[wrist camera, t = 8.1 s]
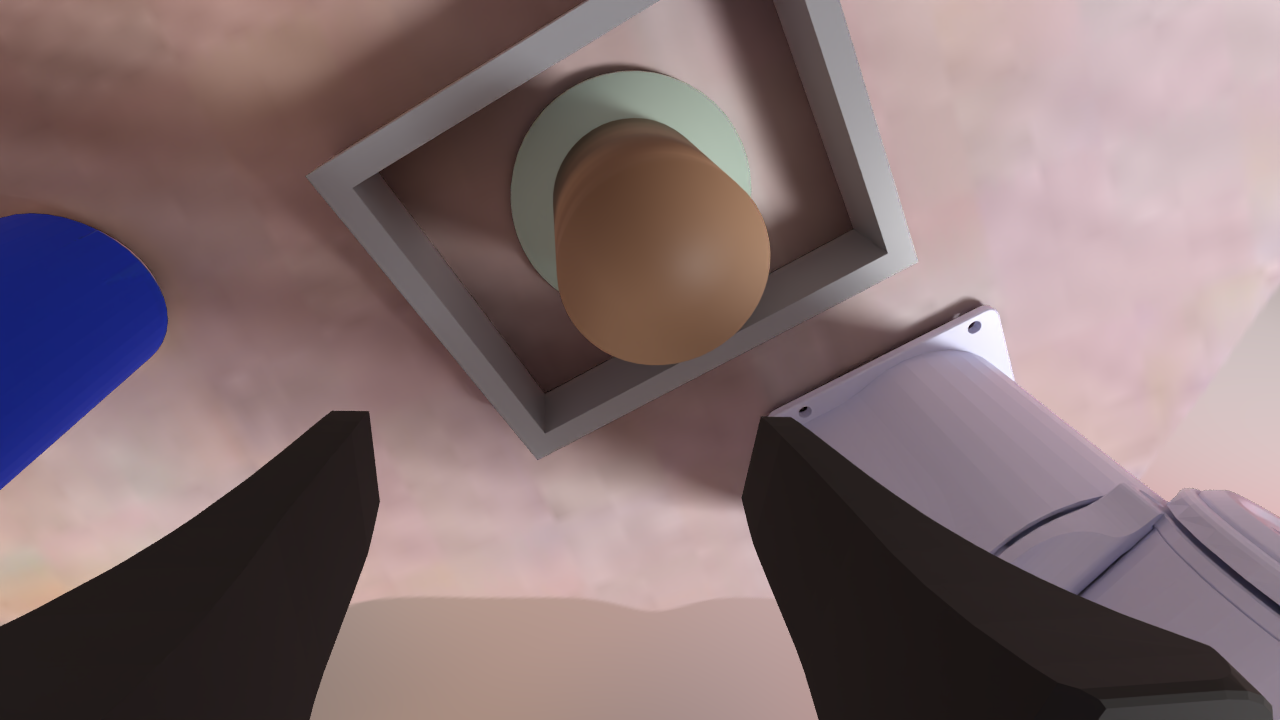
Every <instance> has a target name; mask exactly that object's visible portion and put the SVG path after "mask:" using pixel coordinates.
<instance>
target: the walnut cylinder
mask: <svg viewBox="0 0 1280 720" xmlns="http://www.w3.org/2000/svg"><path fill="white" fill-rule="evenodd" d="M553 214H554V233H555V252H556V271H557V281H558V289H559V293H560V296H561V300H562V303H563V305H564V307H565V310H566V312H567V314H568V316H569V317H570V319H571V321H572V322H573V324H574V325H575V326H576V328H577V329H578V330H579V331H580V333H581V334H582V335H583V336H584V337H585V338H586V339H588V340H589V341H590V342H591V343H592V344H593V345H595V346H596V347H598V348H599V349H600V350H602V351H604V352H606V353H608V354H610V355H611V356H614V357H616V358H619V359H622V360H624V361H628V362H632V363H636V364H645V365H668V364H676V363H680V362H684V361H688V360H691V359H694V358H697V357H700V356H702V355H704V354H706V353H708V352H710V351H712V350H714V349H715V348H717V347H719V346H720V345H722V344H723V343H725V342H726V341H727V340H728V339H730V338H731V337H732V336H733V335H734V334H735V333H736V332H737V331H738V330H739V329H740V328H741V327H742V326H743V325H744V324H745V323H746V321H747V320H748V319H749V318H750V316H751V315H752V313H753V312H754V310H755V308H756V307H757V305H758V303H759V301H760V299H761V297H762V295H763V292H764V289H765V286H766V283H767V280H768V274H769V269H770V242H769V237H768V232H767V228H766V225H765V223H764V220H763V217H762V215H761V213H760V211H759V210H758V208H757V206H756V204H755V203H754V201H753V200H752V199H751V197H750V196H749V195H748V194H747V192H746V191H745V190H743V189H742V188H741V187H740V186H739V185H738V184H737V183H736V182H735V181H734V180H733V179H732V178H731V177H729V176H728V175H727V174H726V173H725V172H724V171H723V170H722V169H720V168H719V167H718V166H717V165H716V164H715V163H714V162H713V161H711V160H710V159H709V158H708V157H707V156H706V155H705V154H704V153H702V152H701V151H700V150H699V149H698V148H697V147H696V146H695V145H693V144H692V143H691V142H690V141H689V140H688V139H687V138H686V137H684V136H683V135H682V134H680V133H679V132H678V131H676V130H675V129H673V128H671V127H669V126H667V125H665V124H663V123H660V122H657V121H654V120H649V119H642V118H627V119H620V120H615V121H611V122H608V123H606V124H603V125H601V126H599V127H597V128H595V129H593V130H591V131H590V132H589V133H587V134H586V135H584V136H583V137H582V138H581V139H580V140H579V141H578V142H577V143H576V144H575V145H574V146H573V147H572V148H571V150H570V151H569V152H568V153H567V155H566V157H565V158H564V160H563V162H562V164H561V166H560V168H559V171H558V173H557V176H556V180H555V184H554V191H553Z"/></svg>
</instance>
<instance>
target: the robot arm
mask: <svg viewBox="0 0 1280 720" xmlns="http://www.w3.org/2000/svg"><path fill="white" fill-rule="evenodd" d="M972 322H975V323H974V325H973V326H972V327H971V328H969V329H968V327H969V325H970V324H971V323H972ZM806 406H807V409H806V410H805V411H803V412H799V411H800V409H801V408H803V407H806ZM742 502H743V506H744V510H745V514H746V518H747V522H748V526H749V530H750V534H751V537H752V541H753V544H754V547H755V550H756V552H757V555H758V557H759V560H760V562H761V565H762V567H763V570H764V572H765V575H766V577H767V580H768V582H769V584H770V587H771V589H772V592H773V594H774V597H775V599H776V601H777V604H778V606H779V609H780V611H781V613H782V616H783V618H784V620H785V623H786V626H787V628H788V630H789V633H790V635H791V638H792V640H793V642H794V645H795V647H796V650H797V653H798V655H799V658H800V661H801V664H802V666H803V669H804V672H805V675H806V679H807V682H808V685H809V688H810V692H811V696H812V699H813V702H814V706H815V709H816V712H817V715H818V719H819V720H1280V517H1278V516H1277V515H1275V514H1273V513H1271V512H1270V511H1268V510H1266V509H1265V508H1263V507H1261V506H1259V505H1258V504H1255V503H1254V502H1252V501H1250V500H1248V499H1246V498H1244V497H1242V496H1240V495H1238V494H1236V493H1234V492H1231V491H1227V490H1204V491H1200V490H1197V489H1194V488H1184V489H1182V490H1180V491H1179V493H1178V494H1177V495H1176V496H1175V497H1174V498H1173V499H1172V500H1171V501H1170V502H1168V501H1165V500H1164V499H1163V498H1162V497H1160V496H1159V495H1158V494H1156V493H1155V492H1154V491H1153V490H1151V489H1150V488H1149V487H1148V486H1146V485H1145V484H1144V483H1142V482H1141V481H1140V480H1139V479H1137V478H1136V477H1135V476H1134V475H1132V474H1131V473H1130V472H1129V471H1127V470H1126V469H1125V468H1124V467H1122V466H1121V465H1120V464H1118V463H1117V462H1116V461H1115V460H1113V459H1112V458H1111V457H1110V456H1108V455H1107V454H1106V453H1104V452H1103V451H1102V450H1101V449H1099V448H1098V447H1097V446H1096V445H1094V444H1093V443H1092V442H1091V441H1089V440H1088V439H1087V438H1085V437H1084V436H1083V435H1082V434H1080V433H1079V432H1078V431H1077V430H1075V429H1074V428H1073V427H1071V426H1070V425H1069V424H1068V423H1066V422H1065V421H1064V420H1063V419H1061V418H1060V417H1059V416H1058V415H1056V414H1055V413H1054V412H1052V411H1051V410H1050V409H1049V408H1047V407H1046V406H1045V405H1044V404H1042V403H1041V402H1040V401H1038V400H1037V399H1036V398H1035V397H1033V396H1032V395H1031V394H1030V393H1028V392H1027V391H1026V390H1024V389H1023V388H1022V387H1021V386H1019V385H1018V384H1017V383H1016V382H1015V379H1014V375H1013V371H1012V367H1011V363H1010V358H1009V354H1008V350H1007V346H1006V341H1005V337H1004V333H1003V329H1002V324H1001V320H1000V316H999V313H998V311H997V310H995V309H994V308H992V307H991V306H989V305H983V306H980V307H978V308H976V309H974V310H972V311H970V312H968V313H966V314H964V315H962V316H960V317H958V318H956V319H954V320H952V321H950V322H948V323H946V324H944V325H942V326H940V327H938V328H936V329H934V330H932V331H930V332H928V333H926V334H924V335H922V336H920V337H918V338H916V339H914V340H912V341H910V342H908V343H906V344H904V345H902V346H900V347H898V348H896V349H894V350H892V351H890V352H888V353H886V354H884V355H882V356H880V357H878V358H877V359H875V360H873V361H871V362H869V363H867V364H865V365H863V366H861V367H859V368H857V369H855V370H853V371H851V372H849V373H847V374H845V375H843V376H841V377H839V378H837V379H835V380H833V381H831V382H829V383H827V384H825V385H823V386H821V387H819V388H817V389H815V390H813V391H811V392H809V393H807V394H805V395H803V396H801V397H799V398H797V399H795V400H793V401H791V402H789V403H787V404H785V405H783V406H781V407H779V408H777V409H775V410H774V411H772V412H771V413H770V414H769V416H768V417H761V419H760V423H759V427H758V431H757V435H756V440H755V444H754V448H753V452H752V457H751V461H750V465H749V469H748V473H747V478H746V482H745V486H744V490H743V494H742ZM379 503H380V500H379V491H378V483H377V474H376V466H375V458H374V449H373V441H372V432H371V424H370V416H369V411H331V412H330V413H329V414H327V415H326V416H325V417H323V418H322V419H321V420H320V421H318V422H317V423H316V424H315V425H314V426H312V427H311V428H310V429H309V430H307V431H306V432H305V433H304V434H303V435H301V436H300V437H299V438H298V439H297V440H295V441H294V442H293V443H292V444H291V445H289V446H288V447H287V448H286V449H284V450H283V451H282V452H281V453H279V454H278V455H277V456H276V457H274V458H273V459H272V460H271V461H269V462H268V463H267V464H266V465H264V466H263V467H262V468H261V469H259V470H258V471H257V472H255V473H254V474H253V475H252V476H250V477H249V478H248V479H246V480H245V481H244V482H242V483H241V484H240V485H238V486H237V487H235V488H234V489H233V490H231V491H230V492H229V493H227V494H226V495H224V496H223V497H222V498H220V499H219V500H217V501H216V502H215V503H213V504H212V505H210V506H209V507H208V508H206V509H205V510H204V511H202V512H201V513H199V514H198V515H197V516H195V517H194V518H192V519H191V520H189V521H188V522H186V523H185V524H183V525H182V526H180V527H179V528H177V529H176V530H174V531H173V532H171V533H170V534H168V535H166V536H165V537H163V538H162V539H160V540H159V541H157V542H155V543H154V544H152V545H150V546H149V547H147V548H145V549H144V550H142V551H140V552H139V553H137V554H135V555H134V556H132V557H131V558H129V559H127V560H126V561H124V562H122V563H120V564H119V565H117V566H115V567H113V568H112V569H110V570H108V571H106V572H104V573H103V574H101V575H99V576H97V577H95V578H93V579H91V580H89V581H88V582H86V583H84V584H82V585H80V586H78V587H76V588H74V589H73V590H71V591H69V592H67V593H65V594H63V595H61V596H59V597H58V598H56V599H54V600H52V601H50V602H48V603H46V604H45V605H43V606H41V607H39V608H37V609H35V610H33V611H31V612H29V613H27V614H25V615H23V616H21V617H19V618H17V619H15V620H13V621H11V622H9V623H7V624H4V625H2V626H0V720H309V719H310V716H311V712H312V708H313V704H314V701H315V698H316V694H317V691H318V688H319V685H320V682H321V679H322V676H323V673H324V670H325V668H326V665H327V662H328V660H329V657H330V654H331V652H332V649H333V646H334V644H335V641H336V638H337V635H338V633H339V630H340V627H341V625H342V622H343V619H344V617H345V614H346V612H347V609H348V606H349V604H350V601H351V598H352V596H353V593H354V590H355V588H356V585H357V582H358V579H359V577H360V574H361V571H362V568H363V566H364V563H365V560H366V557H367V555H368V551H369V547H370V543H371V539H372V534H373V530H374V526H375V521H376V517H377V512H378V507H379Z"/></svg>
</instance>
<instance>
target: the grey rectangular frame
mask: <svg viewBox="0 0 1280 720" xmlns="http://www.w3.org/2000/svg"><path fill="white" fill-rule="evenodd" d="M658 1H659V0H585V1H583V2H582V3H580V4H579V5H577V6H575V7H574V8H572V9H571V10H569V11H567V12H566V13H564V14H563V15H561V16H559V17H558V18H556V19H554V20H553V21H551V22H550V23H548V24H546V25H545V26H543V27H542V28H540V29H538V30H537V31H535V32H534V33H532V34H530V35H529V36H527V37H526V38H524V39H522V40H521V41H519V42H517V43H516V44H514V45H513V46H511V47H509V48H508V49H506V50H505V51H503V52H501V53H500V54H498V55H497V56H495V57H493V58H492V59H490V60H488V61H487V62H485V63H484V64H482V65H480V66H479V67H477V68H476V69H474V70H472V71H471V72H469V73H468V74H466V75H464V76H463V77H461V78H459V79H458V80H456V81H455V82H453V83H451V84H450V85H448V86H447V87H445V88H443V89H442V90H440V91H439V92H437V93H435V94H434V95H432V96H430V97H429V98H427V99H426V100H424V101H422V102H421V103H419V104H418V105H416V106H414V107H413V108H411V109H410V110H408V111H406V112H405V113H403V114H402V115H400V116H398V117H397V118H395V119H393V120H392V121H390V122H389V123H387V124H385V125H384V126H382V127H381V128H379V129H377V130H376V131H374V132H373V133H371V134H369V135H368V136H366V137H364V138H363V139H361V140H360V141H358V142H356V143H355V144H353V145H352V146H350V147H348V148H347V149H345V150H344V151H342V152H340V153H339V154H337V155H335V156H334V157H332V158H331V159H330V160H328V161H327V162H325V163H324V164H322V165H321V166H319V167H318V168H317V169H315V170H314V171H312V172H311V173H309V174H308V175H307V176H305V177H306V178H307V179H308V180H309V181H310V183H311V184H312V185H313V186H314V188H315V189H316V190H317V191H318V192H319V194H320V195H321V196H322V197H323V199H324V200H325V201H326V202H327V203H328V205H329V206H330V207H331V208H332V210H333V211H334V212H335V213H336V214H337V216H338V217H339V218H340V219H341V221H342V222H343V223H344V224H345V225H346V227H347V228H348V229H349V230H350V232H351V233H352V234H353V235H354V236H355V238H356V239H357V240H358V241H359V243H360V244H361V245H362V246H363V247H364V249H365V250H366V251H367V252H368V254H369V255H370V256H371V257H372V258H373V260H374V261H375V262H376V263H377V265H378V266H379V267H380V268H381V269H382V271H383V272H384V273H385V274H386V276H387V277H388V278H389V279H390V280H391V282H392V283H393V284H394V285H395V287H396V288H397V289H398V290H399V291H400V293H401V294H402V295H403V296H404V298H405V299H406V300H407V301H408V302H409V304H410V305H411V306H412V307H413V309H414V310H415V311H416V312H417V313H418V315H419V316H420V317H421V318H422V320H423V321H424V322H425V323H426V324H427V326H428V327H429V328H430V329H431V331H432V332H433V333H434V334H435V335H436V337H437V338H438V339H439V340H440V342H441V343H442V344H443V345H444V346H445V348H446V349H447V350H448V351H449V353H450V354H451V355H452V356H453V357H454V359H455V360H456V361H457V362H458V364H459V365H460V366H461V367H462V368H463V370H464V371H465V372H466V373H467V375H468V376H469V377H470V378H471V379H472V381H473V382H474V383H475V384H476V386H477V387H478V388H479V389H480V390H481V392H482V393H483V394H484V395H485V397H486V398H487V399H488V400H489V401H490V403H491V404H492V405H493V406H494V408H495V409H496V410H497V411H498V412H499V414H500V415H501V416H502V417H503V419H504V420H505V421H506V422H507V423H508V425H509V426H510V427H511V428H512V430H513V431H514V432H515V433H516V434H517V436H518V437H519V438H520V439H521V441H522V442H523V443H524V444H525V445H526V447H527V448H528V449H529V450H530V452H531V453H532V454H533V455H534V456H535V458H536V459H537V460H539V459H541V458H543V457H545V456H547V455H549V454H551V453H552V452H554V451H556V450H558V449H560V448H562V447H564V446H566V445H568V444H570V443H572V442H574V441H575V440H577V439H579V438H581V437H583V436H585V435H587V434H589V433H591V432H593V431H595V430H597V429H599V428H600V427H602V426H604V425H606V424H608V423H610V422H612V421H614V420H616V419H618V418H620V417H622V416H624V415H625V414H627V413H629V412H631V411H633V410H635V409H637V408H639V407H641V406H643V405H645V404H647V403H649V402H650V401H652V400H654V399H656V398H658V397H660V396H662V395H664V394H666V393H668V392H670V391H672V390H674V389H675V388H677V387H679V386H681V385H683V384H685V383H687V382H689V381H691V380H693V379H695V378H697V377H698V376H700V375H702V374H704V373H706V372H708V371H710V370H712V369H714V368H716V367H718V366H720V365H722V364H723V363H725V362H727V361H729V360H731V359H733V358H735V357H737V356H739V355H741V354H743V353H745V352H747V351H748V350H750V349H752V348H754V347H756V346H758V345H760V344H762V343H764V342H766V341H768V340H770V339H772V338H773V337H775V336H777V335H779V334H781V333H783V332H785V331H787V330H789V329H791V328H793V327H795V326H796V325H798V324H800V323H802V322H804V321H806V320H808V319H810V318H812V317H814V316H816V315H818V314H820V313H821V312H823V311H825V310H827V309H829V308H831V307H833V306H835V305H837V304H839V303H841V302H843V301H845V300H846V299H848V298H850V297H852V296H854V295H856V294H858V293H860V292H862V291H864V290H866V289H868V288H870V287H871V286H873V285H875V284H877V283H879V282H881V281H883V280H885V279H887V278H889V277H891V276H893V275H895V274H896V273H898V272H900V271H902V270H904V269H906V268H908V267H910V266H912V265H914V264H916V263H918V259H917V255H916V252H915V249H914V246H913V242H912V239H911V236H910V232H909V229H908V226H907V222H906V219H905V216H904V212H903V209H902V206H901V202H900V199H899V196H898V192H897V189H896V186H895V183H894V179H893V176H892V173H891V169H890V166H889V163H888V159H887V156H886V153H885V149H884V146H883V143H882V139H881V136H880V133H879V129H878V126H877V123H876V120H875V116H874V113H873V110H872V106H871V103H870V100H869V96H868V93H867V90H866V86H865V83H864V80H863V76H862V73H861V70H860V67H859V63H858V60H857V57H856V53H855V50H854V47H853V43H852V40H851V37H850V33H849V30H848V27H847V23H846V20H845V17H844V13H843V10H842V7H841V4H840V0H773V2H774V5H775V8H776V11H777V14H778V16H779V19H780V22H781V25H782V28H783V31H784V33H785V36H786V39H787V42H788V45H789V48H790V50H791V53H792V56H793V59H794V62H795V65H796V67H797V70H798V73H799V76H800V79H801V82H802V84H803V87H804V90H805V93H806V96H807V99H808V101H809V104H810V107H811V110H812V113H813V116H814V119H815V121H816V124H817V127H818V130H819V133H820V136H821V138H822V141H823V144H824V147H825V150H826V153H827V155H828V158H829V161H830V164H831V167H832V170H833V172H834V175H835V178H836V181H837V184H838V187H839V189H840V192H841V195H842V198H843V201H844V204H845V206H846V209H847V212H848V215H849V218H850V221H851V223H852V226H853V230H851V231H849V232H847V233H845V234H843V235H841V236H840V237H838V238H836V239H834V240H832V241H830V242H828V243H826V244H825V245H823V246H821V247H819V248H817V249H815V250H813V251H812V252H810V253H808V254H806V255H804V256H802V257H800V258H798V259H797V260H795V261H793V262H791V263H789V264H787V265H785V266H783V267H782V268H780V269H778V270H776V271H774V272H772V273H770V274H769V275H768V280H767V283H766V286H765V289H764V292H763V295H762V297H761V299H760V301H759V303H758V305H757V307H756V308H755V310H754V312H753V313H752V315H751V316H750V318H749V319H748V320H747V321H746V323H745V324H744V325H743V326H742V327H741V328H740V329H739V330H738V331H737V332H736V333H735V334H734V335H733V336H732V337H731V338H730V339H728V340H727V341H726V342H725V343H723V344H722V345H720V346H719V347H717V348H715V349H714V350H712V351H710V352H708V353H706V354H704V355H702V356H700V357H697V358H694V359H691V360H688V361H684V362H680V363H676V364H668V365H645V364H636V363H632V362H628V361H624V360H622V359H619V358H616V357H613V358H611V359H610V360H608V361H606V362H604V363H602V364H600V365H598V366H597V367H595V368H593V369H591V370H589V371H587V372H585V373H583V374H582V375H580V376H578V377H576V378H574V379H572V380H570V381H568V382H567V383H565V384H563V385H561V386H559V387H557V388H555V389H554V390H552V391H550V392H548V393H546V394H544V392H543V391H542V390H541V388H540V387H539V386H538V384H537V383H536V382H535V380H534V379H533V378H532V376H531V375H530V374H529V372H528V371H527V370H526V368H525V367H524V366H523V364H522V363H521V362H520V360H519V359H518V358H517V356H516V355H515V354H514V352H513V351H512V350H511V348H510V347H509V346H508V344H507V343H506V342H505V340H504V339H503V338H502V336H501V335H500V334H499V332H498V331H497V330H496V328H495V327H494V326H493V324H492V323H491V322H490V320H489V319H488V318H487V316H486V315H485V314H484V312H483V311H482V310H481V308H480V307H479V306H478V304H477V303H476V302H475V300H474V299H473V298H472V296H471V295H470V294H469V292H468V291H467V290H466V288H465V287H464V286H463V284H462V283H461V282H460V280H459V279H458V278H457V276H456V275H455V274H454V272H453V271H452V270H451V268H450V267H449V266H448V264H447V263H446V262H445V260H444V259H443V258H442V256H441V255H440V254H439V252H438V251H437V250H436V248H435V247H434V246H433V244H432V243H431V242H430V240H429V239H428V238H427V236H426V235H425V234H424V232H423V231H422V230H421V228H420V227H419V226H418V224H417V223H416V222H415V220H414V219H413V218H412V216H411V215H410V214H409V212H408V211H407V210H406V208H405V207H404V206H403V204H402V203H401V202H400V200H399V199H398V198H397V196H396V195H395V194H394V193H393V191H392V190H391V189H390V187H389V186H388V185H387V183H386V182H385V181H384V179H383V178H382V177H381V175H380V174H379V173H378V172H379V171H381V170H382V169H384V168H386V167H387V166H389V165H391V164H392V163H394V162H396V161H397V160H399V159H400V158H402V157H404V156H405V155H407V154H409V153H410V152H412V151H414V150H415V149H417V148H419V147H420V146H422V145H423V144H425V143H427V142H428V141H430V140H432V139H433V138H435V137H437V136H438V135H440V134H441V133H443V132H445V131H446V130H448V129H450V128H451V127H453V126H455V125H456V124H458V123H459V122H461V121H463V120H464V119H466V118H468V117H469V116H471V115H473V114H474V113H476V112H477V111H479V110H481V109H482V108H484V107H486V106H487V105H489V104H491V103H492V102H494V101H495V100H497V99H499V98H500V97H502V96H504V95H505V94H507V93H509V92H510V91H512V90H514V89H515V88H517V87H518V86H520V85H522V84H523V83H525V82H527V81H528V80H530V79H532V78H533V77H535V76H536V75H538V74H540V73H541V72H543V71H545V70H546V69H548V68H550V67H551V66H553V65H554V64H556V63H558V62H559V61H561V60H563V59H564V58H566V57H568V56H569V55H571V54H572V53H574V52H576V51H577V50H579V49H581V48H582V47H584V46H586V45H587V44H589V43H590V42H592V41H594V40H595V39H597V38H599V37H600V36H602V35H604V34H605V33H607V32H609V31H610V30H612V29H613V28H615V27H617V26H618V25H620V24H622V23H623V22H625V21H627V20H628V19H630V18H631V17H633V16H635V15H636V14H638V13H640V12H641V11H643V10H645V9H646V8H648V7H649V6H651V5H653V4H654V3H656V2H658Z"/></svg>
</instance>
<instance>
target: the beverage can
mask: <svg viewBox="0 0 1280 720" xmlns="http://www.w3.org/2000/svg"><path fill="white" fill-rule="evenodd" d="M167 324H168V316H167V308H166V304H165V300H164V297H163V294H162V292H161V290H160V287H159V285H158V283H157V281H156V279H155V278H154V276H153V275H152V273H151V272H150V270H149V269H148V267H147V266H146V265H145V264H144V263H143V262H142V260H141V259H140V258H139V257H138V256H136V255H135V254H134V253H133V252H132V251H131V250H130V249H128V248H127V247H126V246H124V245H123V244H122V243H120V242H119V241H117V240H115V239H114V238H112V237H110V236H108V235H107V234H105V233H103V232H101V231H99V230H97V229H94V228H92V227H90V226H88V225H85V224H83V223H80V222H77V221H74V220H71V219H68V218H64V217H59V216H54V215H48V214H34V213H28V214H15V215H11V216H7V217H2V218H0V490H1V489H2V488H3V487H4V486H5V485H6V484H8V483H9V482H10V481H11V480H12V479H13V478H14V477H16V476H17V475H18V474H19V473H20V472H21V471H22V470H23V469H25V468H26V467H27V466H28V465H29V464H30V463H31V462H33V461H34V460H35V459H36V458H37V457H38V456H39V455H40V454H42V453H43V452H44V451H45V450H46V449H47V448H48V447H50V446H51V445H52V444H53V443H54V442H55V441H56V440H57V439H59V438H60V437H61V436H62V435H63V434H64V433H65V432H67V431H68V430H69V429H70V428H71V427H72V426H73V425H74V424H76V423H77V422H78V421H79V420H80V419H81V418H82V417H84V416H85V415H86V414H87V413H88V412H89V411H90V410H91V409H93V408H94V407H95V406H96V405H97V404H98V403H99V402H101V401H102V400H103V399H104V398H105V397H106V396H107V395H109V394H110V393H111V392H112V391H113V390H114V389H115V388H116V387H118V386H119V385H120V384H121V383H122V382H123V381H124V380H126V379H127V378H128V377H129V376H130V375H131V374H132V373H133V372H135V371H136V370H137V369H138V368H139V367H140V366H141V365H143V364H144V363H145V362H146V361H147V360H148V359H149V358H150V357H151V356H152V355H153V354H154V353H155V352H156V351H157V350H158V349H159V347H160V346H161V344H162V342H163V340H164V337H165V335H166V331H167Z"/></svg>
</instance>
